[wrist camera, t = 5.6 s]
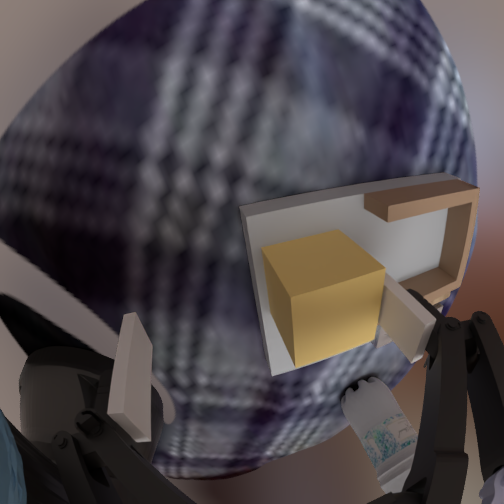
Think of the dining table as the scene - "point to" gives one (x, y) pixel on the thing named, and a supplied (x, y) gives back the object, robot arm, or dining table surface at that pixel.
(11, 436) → the robot arm
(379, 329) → the crook tool
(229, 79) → the dining table surface
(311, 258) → the block
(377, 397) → the bottle
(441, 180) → the cubby deck
